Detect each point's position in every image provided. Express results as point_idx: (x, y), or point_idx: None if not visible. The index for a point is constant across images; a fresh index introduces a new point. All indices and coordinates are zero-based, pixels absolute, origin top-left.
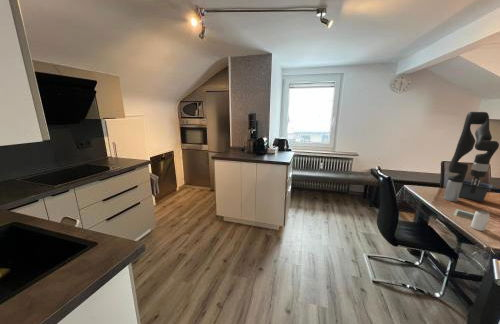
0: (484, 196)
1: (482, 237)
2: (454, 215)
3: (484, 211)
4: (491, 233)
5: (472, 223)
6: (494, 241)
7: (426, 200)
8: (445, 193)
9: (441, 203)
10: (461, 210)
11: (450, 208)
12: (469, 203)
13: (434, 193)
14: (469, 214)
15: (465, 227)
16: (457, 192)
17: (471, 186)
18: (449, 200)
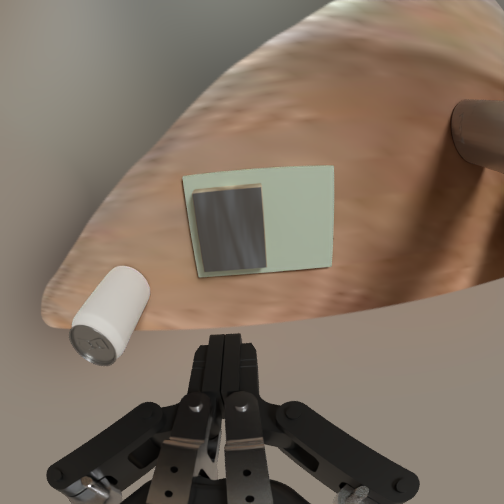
0: None
1: (70, 303)
2: (187, 182)
3: (114, 352)
4: None
5: (103, 279)
6: None
7: (345, 13)
8: (484, 102)
9: (374, 85)
10: (329, 192)
11: (324, 136)
12: (474, 209)
13: (490, 67)
14: (246, 244)
15: (91, 252)
16: (501, 162)
17: (142, 416)
18: (452, 125)
